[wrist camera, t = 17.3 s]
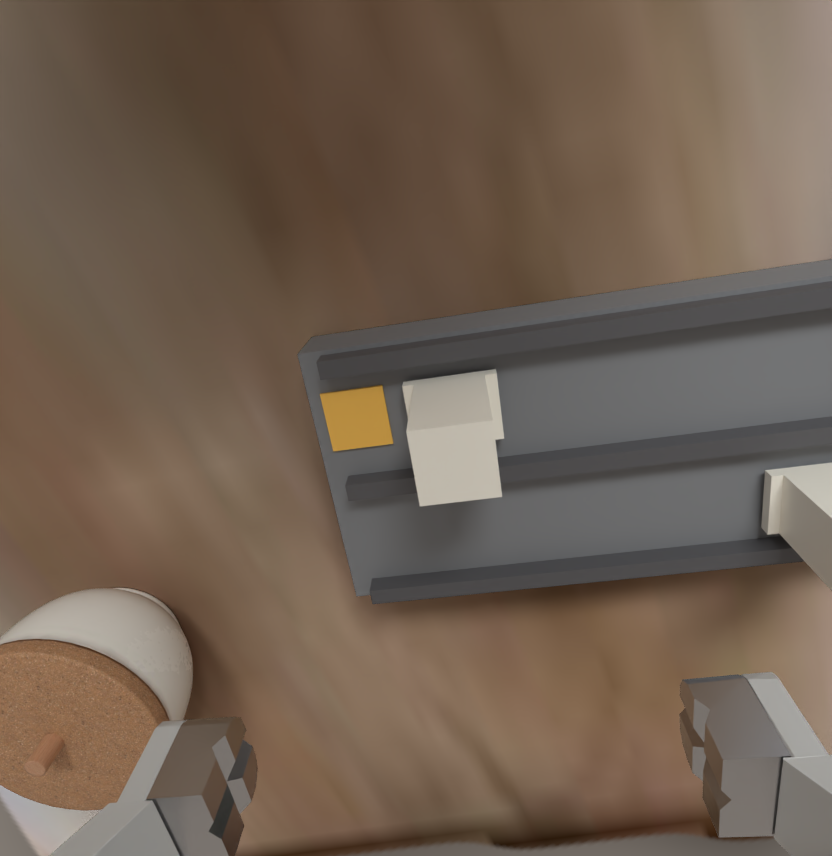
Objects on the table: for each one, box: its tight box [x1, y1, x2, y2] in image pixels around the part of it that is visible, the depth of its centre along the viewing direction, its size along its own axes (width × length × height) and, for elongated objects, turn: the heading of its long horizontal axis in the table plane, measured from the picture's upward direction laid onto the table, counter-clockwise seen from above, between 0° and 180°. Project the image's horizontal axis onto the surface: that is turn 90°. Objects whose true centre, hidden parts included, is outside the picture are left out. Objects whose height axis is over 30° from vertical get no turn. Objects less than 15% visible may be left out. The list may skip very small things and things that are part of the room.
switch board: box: [297, 259, 832, 604], centre depth 28 cm, size 13×28×4 cm, turn 99°
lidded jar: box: [0, 587, 193, 810], centre depth 32 cm, size 11×11×9 cm
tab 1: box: [402, 369, 504, 506], centre depth 24 cm, size 3×4×6 cm
